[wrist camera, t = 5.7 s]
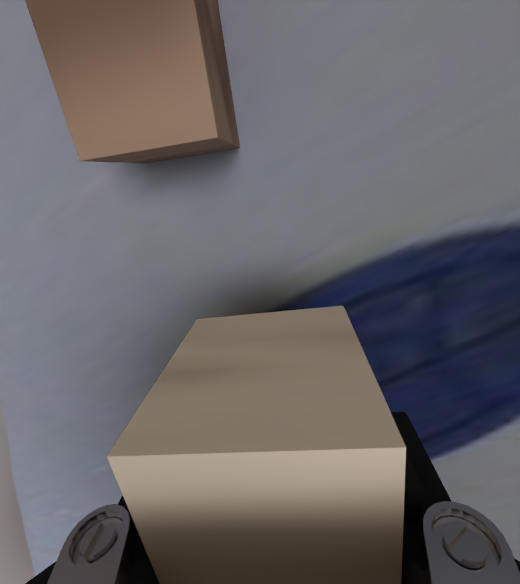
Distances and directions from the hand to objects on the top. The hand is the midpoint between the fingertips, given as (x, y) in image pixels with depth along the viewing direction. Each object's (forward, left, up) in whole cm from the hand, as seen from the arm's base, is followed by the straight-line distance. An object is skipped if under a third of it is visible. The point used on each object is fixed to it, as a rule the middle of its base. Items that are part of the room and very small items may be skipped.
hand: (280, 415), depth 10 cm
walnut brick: (+12, +3, -7) cm, 14 cm away
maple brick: (0, 0, 0) cm, 0 cm away
